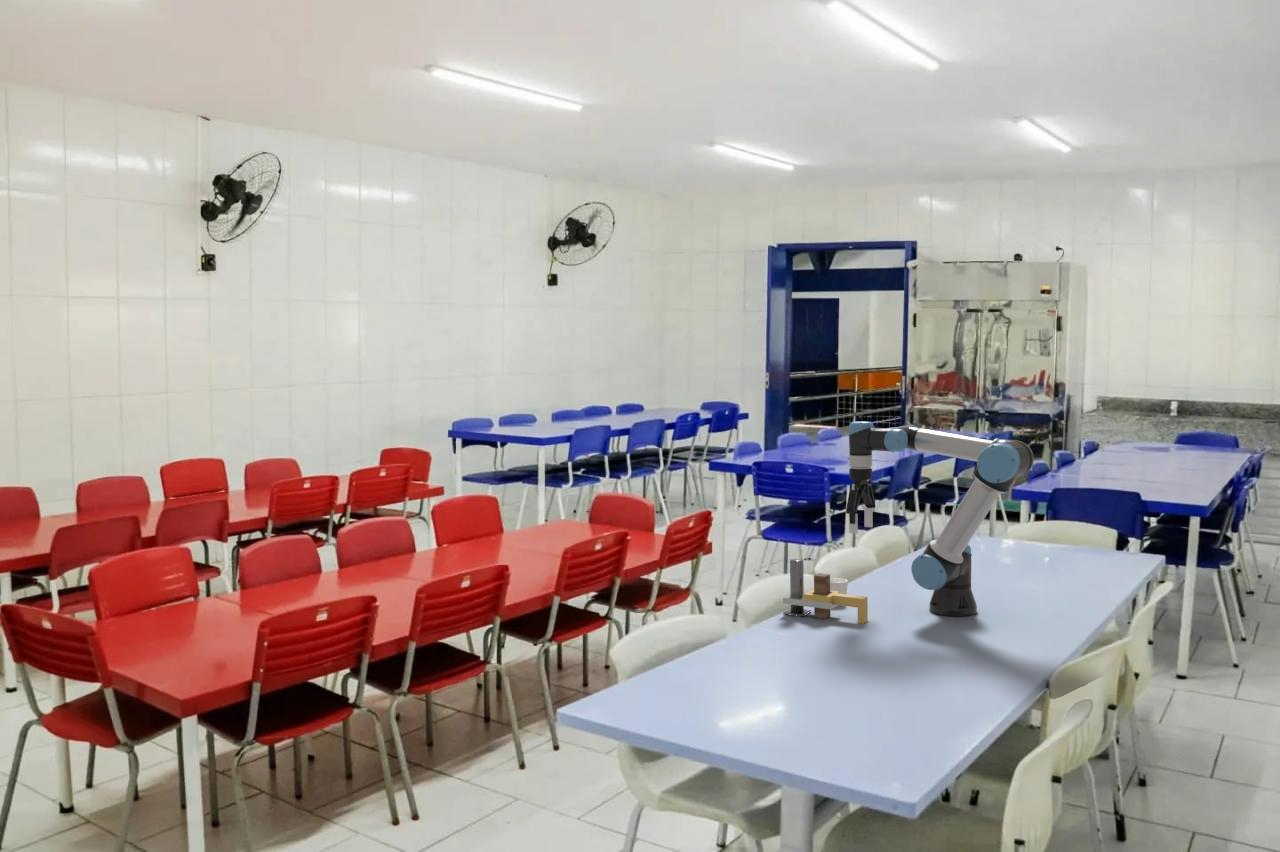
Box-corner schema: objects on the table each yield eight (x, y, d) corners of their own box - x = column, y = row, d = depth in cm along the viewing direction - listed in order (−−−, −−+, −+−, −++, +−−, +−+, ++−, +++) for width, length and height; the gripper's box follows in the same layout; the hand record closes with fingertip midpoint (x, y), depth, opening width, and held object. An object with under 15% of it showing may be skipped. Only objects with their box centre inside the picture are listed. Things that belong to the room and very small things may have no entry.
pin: (819, 614, 351) (818, 573, 349) (830, 616, 348) (830, 574, 347) (814, 617, 347) (813, 575, 346) (825, 618, 345) (825, 576, 344)
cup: (847, 606, 361) (846, 583, 360) (817, 604, 364) (817, 581, 363) (849, 601, 367) (849, 578, 367) (820, 599, 371) (820, 577, 370)
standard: (841, 615, 349) (841, 561, 347) (831, 621, 341) (830, 566, 340) (793, 609, 358) (792, 556, 357) (781, 615, 351) (781, 561, 349)
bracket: (870, 619, 343) (870, 594, 343) (860, 625, 336) (860, 600, 335) (815, 612, 354) (815, 588, 353) (804, 618, 346) (803, 594, 346)
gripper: (863, 463, 367) (864, 523, 368) (835, 471, 346) (836, 535, 348) (884, 464, 363) (885, 525, 364) (857, 472, 342) (857, 536, 344)
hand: (861, 530), depth 356 cm, fingers open, 13 cm apart
